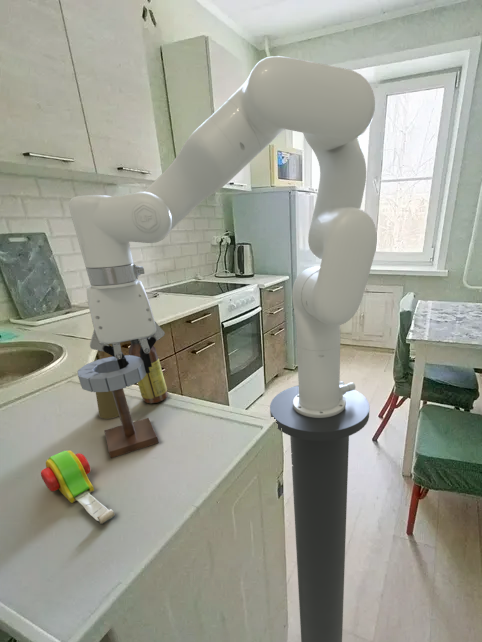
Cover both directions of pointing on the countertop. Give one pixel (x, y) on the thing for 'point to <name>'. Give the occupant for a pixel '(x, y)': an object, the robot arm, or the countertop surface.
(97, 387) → the segmented block ring
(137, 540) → the countertop surface
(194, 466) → the countertop surface
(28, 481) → the countertop surface
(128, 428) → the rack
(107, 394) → the cork
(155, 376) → the sauce bottle
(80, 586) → the countertop surface
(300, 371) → the robot arm
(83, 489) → the toy measuring tape
